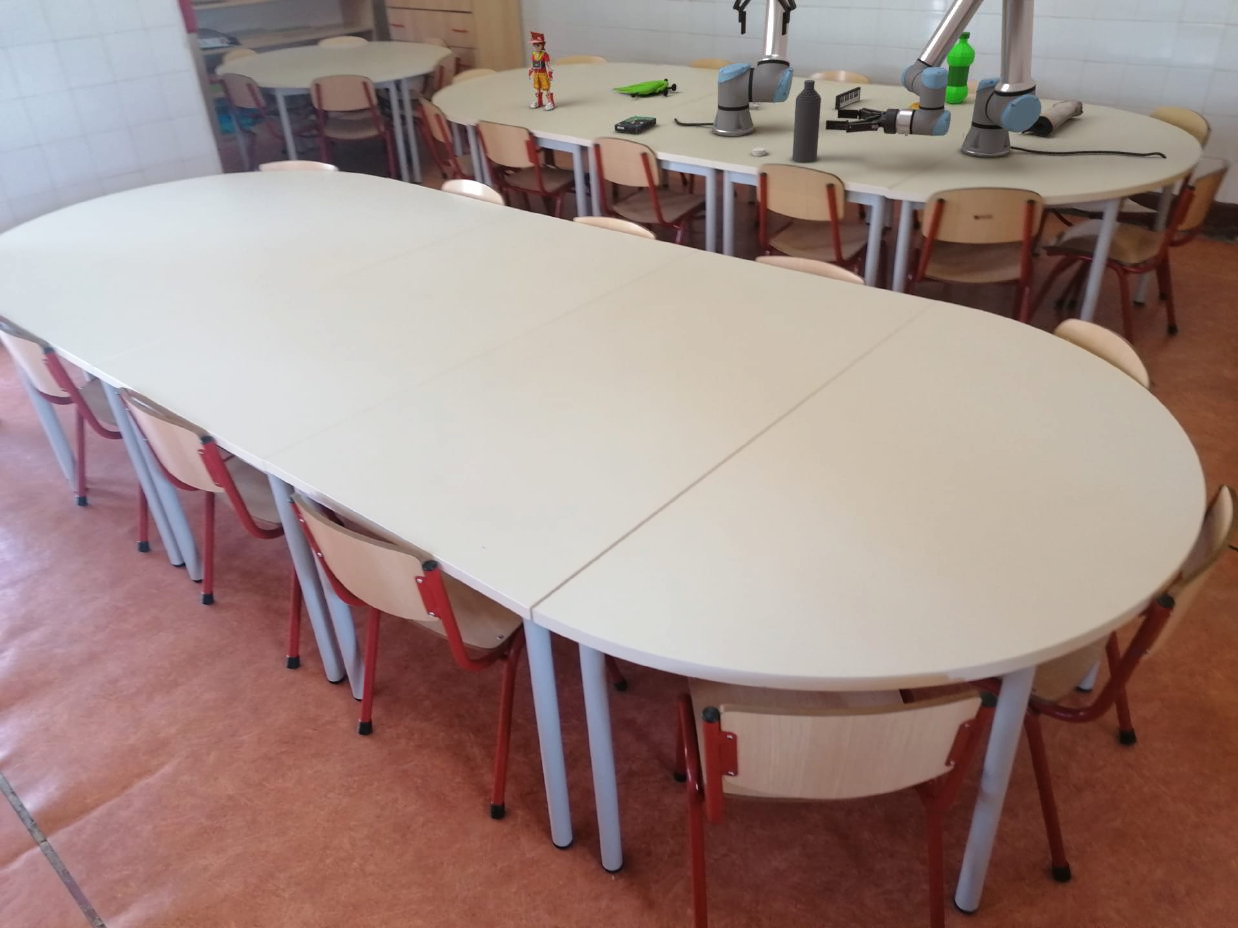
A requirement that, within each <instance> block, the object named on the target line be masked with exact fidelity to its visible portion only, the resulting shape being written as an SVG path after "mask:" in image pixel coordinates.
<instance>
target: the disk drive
mask: <svg viewBox="0 0 1238 928" xmlns="http://www.w3.org/2000/svg"><path fill="white" fill-rule="evenodd" d="M656 125H657V117H652V116H651V117H650V116H637V115H633V116H630V117H628V118H626V119H624V120H621V121H619V122H618V123H615V124H614V132H617V133H618V132H619V133H626V134H635V135H637V134H639V133H642V132H644V131H646V130H647V129H651V128H653V127H654V126H656Z"/></svg>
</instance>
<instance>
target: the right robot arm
mask: <svg viewBox="0 0 1238 928" xmlns="http://www.w3.org/2000/svg"><path fill="white" fill-rule="evenodd" d="M984 1H985V0H954V1H953V2H952V3H951V5H950V7H949V8H948V10H947V11H946V13H945V14H944V16H943V18H942V19H941V21H940V23H939V24H938V26H937V27H936V28H935V30H934V32H933V34H932V35H931V37H930V38H929V40H928V41H927V43H926V44H925V46H924V48H923V49H922V51H921V52H920V54H919V56H918V57H917V58H916V60H915V62H914V63H913V64H910V65H909V66H907V67H905V69H904V70H903V71H902V74H901V77H900V81H901V85H902V86H903V87H904V89H906V90H907V92H910V93H913V94H914V95H915V96H917V97H918V98H919V109H908V108H901V109H899V108H887V109H886V110H878V109H874V108H867V107H862V108H860V109H850V108H849V109H847V108H845V109H843V108H839V109H837V119H845V120H834V119H833V120H832V119H829V120H828V119H827V120H826V121H825V130H827V131H845V133H847V134H849V133H850V134H851V133H861V132H878V131H879V128H882V129H883V133H884V134H886V135H896V134H897V135H904V136H905V137H908V136H909V135H911V136H927V137H929V136H930V137H940V136H943V137H944V136H945V135H947V134H948V132H949V130H950V125H951V121H952V120H951V118H952V113H951V111H950V110H949V109H945V108H946V107H945V102H946V100H945V96H946V88H947V84H948V80H947V79H948V69H947V68H945V67H941V66H942V65H943V64H944V62H945V60H947V56H948V54H949V53H950V51H951V50H952V48H953V47H954V46H955V45H956V44H957V43H958V41H959V37H960V36H961V34H962V33H963V32H965V31H966V28H967V27H968V25H969V24H970V22H971V21H972V19H973V18H974V16H975V14H976V13H977V12H978V10H979V8H980V7H981V5H982V4H983V2H984ZM1001 1H1002V2H1001V6H1002V7H1001V37H1000V38H1001V41H1000V77H989V78H983V79H980V81H979V82H978V84H977V87H976V90H975V99H974V104H973V112H972V118H971V123H970V128H969V130H968V132H967V134H966V136H965V132H963V134H962V138H963V139H964V140H963V141H962V144H961V149H960V151H961V153H963V154H964V155H967V156H970V157H976V158H984V159H985V158H986V159H988V158H989V159H990V158H991V159H993V158H1000V157H1001V158H1002V157H1005V156H1007V155H1009V154H1010V153H1011V150H1014V151H1020V152H1025V153H1031V154H1038V155H1039V154H1040V155H1059V156H1060V155H1061V156H1062V155H1063V156H1064V155H1082V154H1085V155H1086V154H1087V155H1088V154H1089V155H1090V154H1107V155H1108V154H1109V155H1110V154H1111V155H1125V156H1134V157H1150V156H1159V157H1161V158H1163V159H1167V156H1166V155H1165V154H1164V153H1162V152H1159V151H1153V152H1144V153H1142V152H1132V151H1131V152H1130V151H1121V150H1074V151H1073V150H1071V151H1048V150H1047V151H1045V150H1035V149H1029V148H1025V147H1024V148H1023V147H1019V146H1012V145H1011V139H1010V138H1011V137H1010V133H1014V134H1015V133H1022V131H1025V130H1027V129H1029V128H1030V127H1031V126H1032V125H1033V124H1034V123H1035V122H1036V121H1037V119H1038V118H1039V116H1040V113H1041V112H1042V109H1043V108H1042V101H1041V100H1040V98H1039V97H1038V96H1037V95H1036V94H1037V93H1036V89H1037V81H1036V80H1035V79H1034V78H1032V77H1031V76H1032V58H1033V54H1032V53H1033V35H1034V13H1035V8H1034V7H1035V0H1001ZM849 119H850V120H851V119H852V120H853V119H854V120H853V121H850V120H849Z"/></svg>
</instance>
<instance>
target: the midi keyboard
mask: <svg viewBox="0 0 1238 928" xmlns="http://www.w3.org/2000/svg"><path fill="white" fill-rule="evenodd" d="M861 88H862V87H861V86H857V87H854V88H852V89H849V90H847V91H844V92H842V93H839V94H837V95H835V103H834V109H835V110H838V109H842V108H843V107H846V106H848V105H850V104H853V103H855V102H857V101H860V100H861V91H862V90H861Z"/></svg>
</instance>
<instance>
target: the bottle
mask: <svg viewBox="0 0 1238 928" xmlns="http://www.w3.org/2000/svg"><path fill="white" fill-rule="evenodd" d="M803 83H804V84H803V89H802V91H800V93H798V95H796V98H795V105H794V107H795V109H794V122H793V123H794V124H793V125H794V126H793V142H792V161H793V162H796V163H812V162H816V161H817V159H818V148H819V134H820V119H821V107H822V106H821V105H822V96H821V95H820V94H819V92H818V91H817V90H816V88H815V84H816V81H815V80H814V79H806V80H804V81H803Z"/></svg>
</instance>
